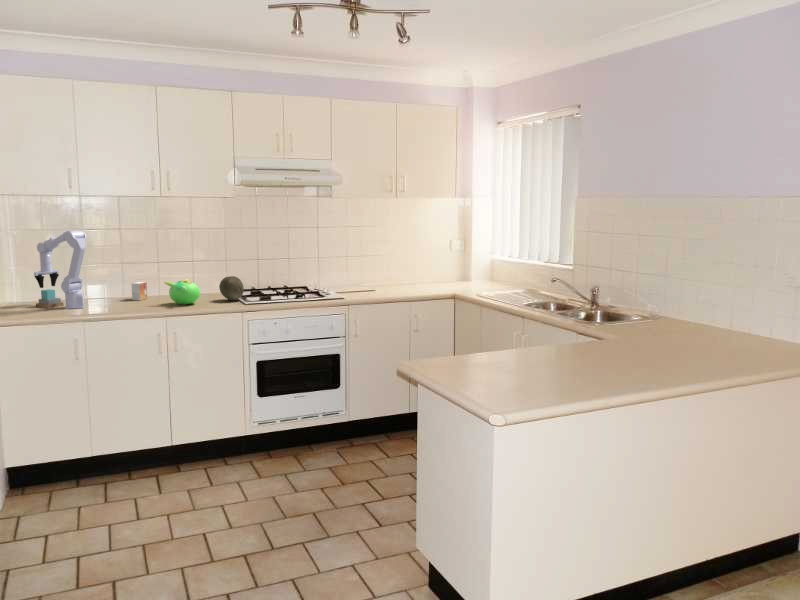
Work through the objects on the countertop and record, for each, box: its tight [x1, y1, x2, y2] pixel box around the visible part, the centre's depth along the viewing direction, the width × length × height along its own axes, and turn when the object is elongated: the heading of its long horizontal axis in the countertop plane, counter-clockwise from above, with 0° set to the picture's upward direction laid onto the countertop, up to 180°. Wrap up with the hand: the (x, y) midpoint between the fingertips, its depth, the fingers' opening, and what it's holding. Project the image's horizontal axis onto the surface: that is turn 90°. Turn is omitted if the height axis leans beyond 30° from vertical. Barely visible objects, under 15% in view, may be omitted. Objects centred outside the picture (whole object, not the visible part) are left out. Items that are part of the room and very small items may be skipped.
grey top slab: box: [38, 297, 62, 305], centre depth 389 cm, size 8×8×2 cm
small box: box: [131, 281, 148, 301], centre depth 415 cm, size 8×6×10 cm
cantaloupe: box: [218, 275, 245, 302], centre depth 415 cm, size 14×14×15 cm
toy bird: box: [163, 278, 201, 306], centre depth 400 cm, size 18×17×15 cm
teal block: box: [40, 288, 56, 300], centre depth 389 cm, size 5×5×5 cm
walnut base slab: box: [35, 301, 64, 309], centre depth 390 cm, size 10×10×2 cm
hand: (47, 286), depth 391 cm, fingers open, 7 cm apart
